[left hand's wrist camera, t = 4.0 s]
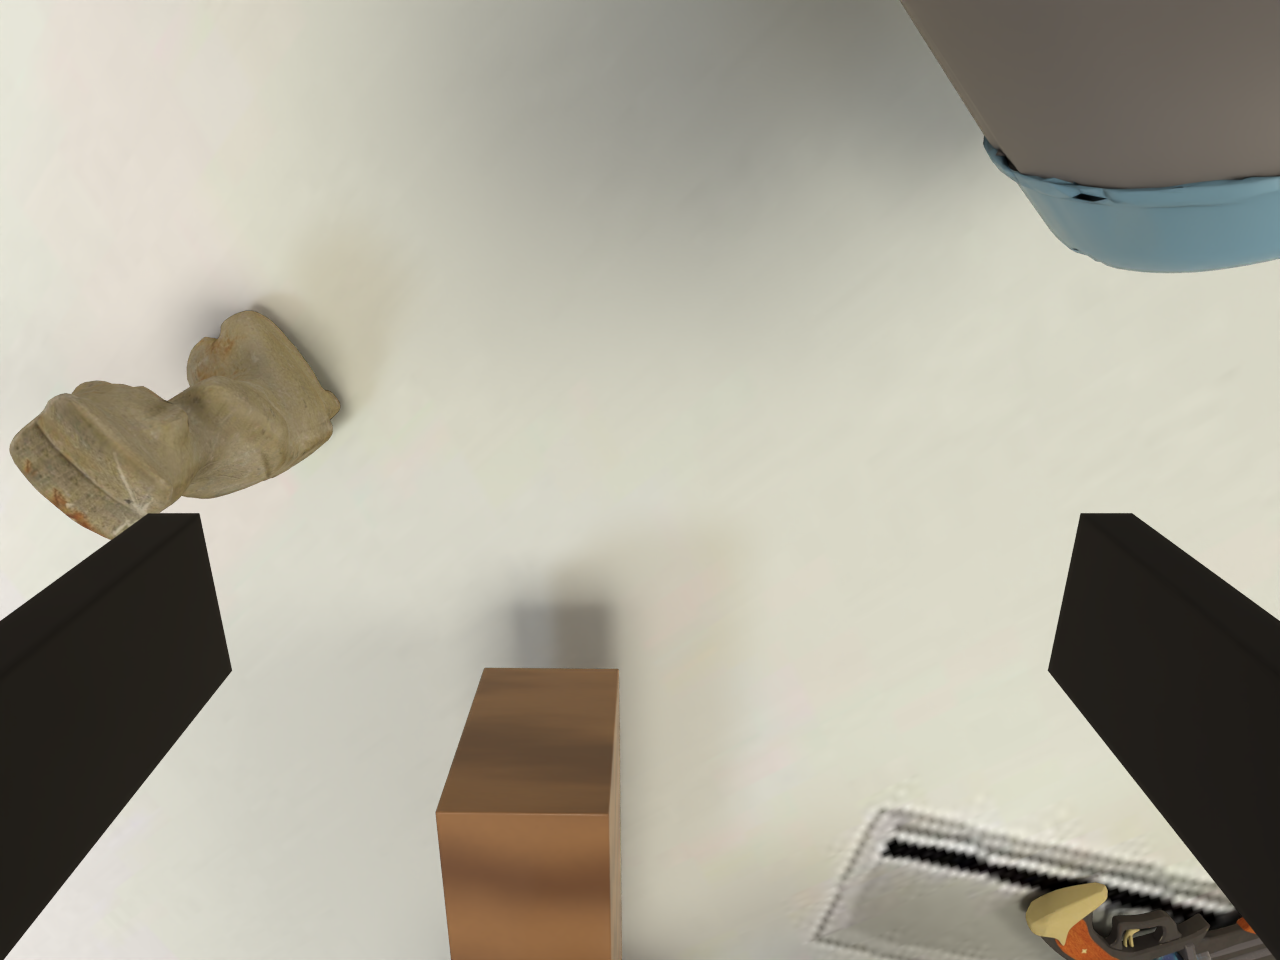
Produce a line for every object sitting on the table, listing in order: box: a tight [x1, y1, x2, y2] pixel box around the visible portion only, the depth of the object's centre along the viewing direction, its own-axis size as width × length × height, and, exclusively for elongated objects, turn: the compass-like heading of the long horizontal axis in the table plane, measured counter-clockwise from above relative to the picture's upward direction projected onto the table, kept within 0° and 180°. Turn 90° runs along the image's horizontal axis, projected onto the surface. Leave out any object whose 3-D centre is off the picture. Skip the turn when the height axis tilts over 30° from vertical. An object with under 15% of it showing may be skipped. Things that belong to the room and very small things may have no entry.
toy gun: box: [1026, 883, 1276, 960], centre depth 54 cm, size 3×19×10 cm
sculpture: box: [9, 311, 340, 540], centre depth 35 cm, size 6×7×15 cm
